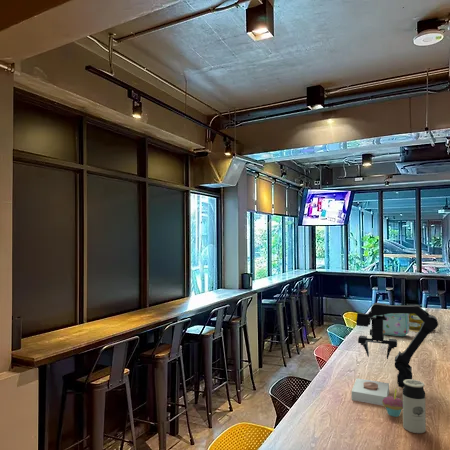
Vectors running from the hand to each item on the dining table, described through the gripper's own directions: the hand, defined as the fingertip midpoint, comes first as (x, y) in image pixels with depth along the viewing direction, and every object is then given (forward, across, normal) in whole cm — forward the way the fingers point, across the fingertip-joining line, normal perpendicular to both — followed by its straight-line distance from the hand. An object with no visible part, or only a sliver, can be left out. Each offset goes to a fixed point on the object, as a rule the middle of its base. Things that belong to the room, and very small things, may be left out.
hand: (377, 357), depth 203 cm
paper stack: (+12, -19, -136) cm, 137 cm away
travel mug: (+12, -17, +47) cm, 51 cm away
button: (+11, +1, +21) cm, 24 cm away
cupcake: (+12, -9, +37) cm, 40 cm away
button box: (+12, +1, +21) cm, 24 cm away
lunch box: (+12, 0, -106) cm, 107 cm away
